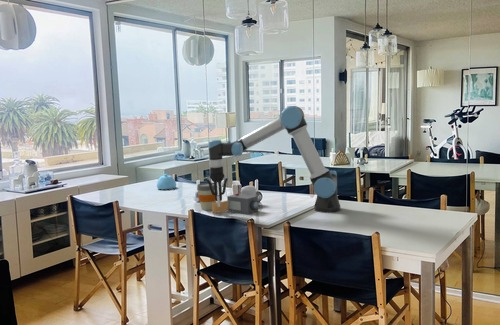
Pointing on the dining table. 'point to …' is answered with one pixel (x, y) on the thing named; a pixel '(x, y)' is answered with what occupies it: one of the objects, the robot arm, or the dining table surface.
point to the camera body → (243, 203)
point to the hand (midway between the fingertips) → (219, 206)
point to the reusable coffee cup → (206, 196)
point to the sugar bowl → (166, 182)
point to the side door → (223, 206)
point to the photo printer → (248, 190)
